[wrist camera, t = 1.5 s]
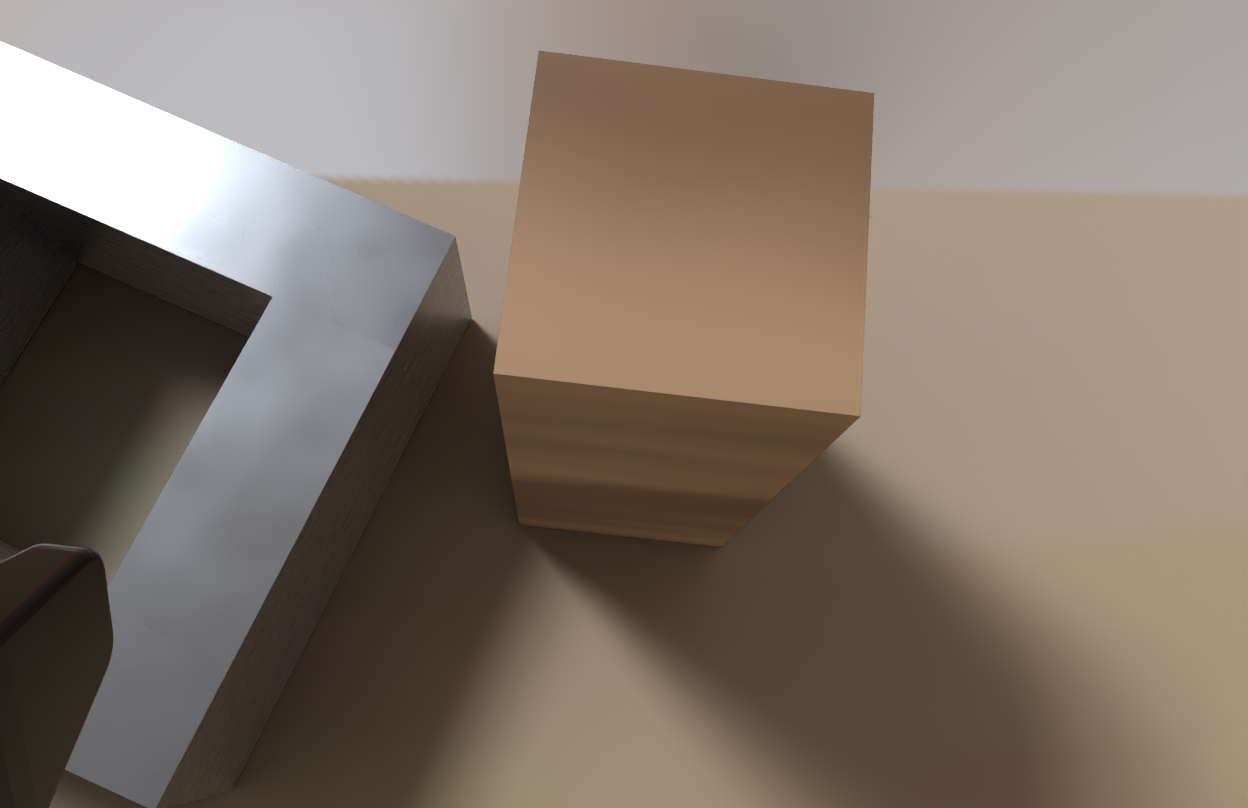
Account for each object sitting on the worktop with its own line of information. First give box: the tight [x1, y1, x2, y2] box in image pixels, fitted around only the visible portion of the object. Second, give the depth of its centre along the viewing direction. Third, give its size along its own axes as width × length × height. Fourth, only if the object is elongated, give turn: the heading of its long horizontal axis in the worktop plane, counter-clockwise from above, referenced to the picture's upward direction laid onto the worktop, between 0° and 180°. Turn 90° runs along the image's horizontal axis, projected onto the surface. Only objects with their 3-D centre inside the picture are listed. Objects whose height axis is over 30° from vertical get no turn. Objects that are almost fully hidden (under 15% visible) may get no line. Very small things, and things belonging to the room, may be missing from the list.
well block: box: [0, 42, 472, 808], centre depth 19 cm, size 10×10×4 cm
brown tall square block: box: [493, 51, 874, 547], centre depth 17 cm, size 4×4×10 cm
